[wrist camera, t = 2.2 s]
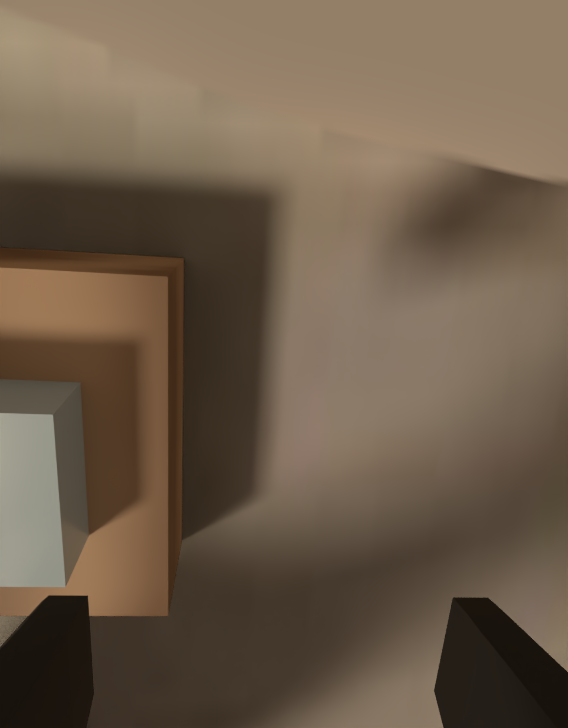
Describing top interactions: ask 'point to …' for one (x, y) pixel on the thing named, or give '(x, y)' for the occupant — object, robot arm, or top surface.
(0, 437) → the tile slate
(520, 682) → the robot arm
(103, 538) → the walnut plate
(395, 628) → the top surface
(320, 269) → the top surface
